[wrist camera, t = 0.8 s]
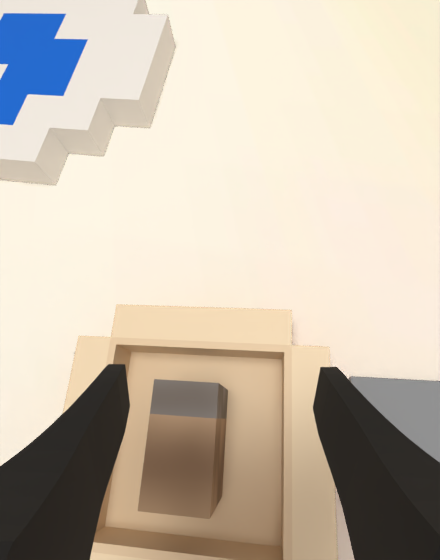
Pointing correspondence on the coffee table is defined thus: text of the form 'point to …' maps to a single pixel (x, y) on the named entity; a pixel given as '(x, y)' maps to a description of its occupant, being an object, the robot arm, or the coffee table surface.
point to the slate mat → (407, 407)
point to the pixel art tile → (75, 79)
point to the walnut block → (184, 449)
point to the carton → (238, 441)
